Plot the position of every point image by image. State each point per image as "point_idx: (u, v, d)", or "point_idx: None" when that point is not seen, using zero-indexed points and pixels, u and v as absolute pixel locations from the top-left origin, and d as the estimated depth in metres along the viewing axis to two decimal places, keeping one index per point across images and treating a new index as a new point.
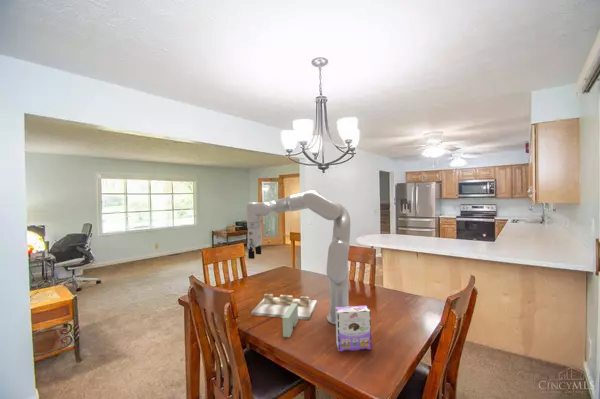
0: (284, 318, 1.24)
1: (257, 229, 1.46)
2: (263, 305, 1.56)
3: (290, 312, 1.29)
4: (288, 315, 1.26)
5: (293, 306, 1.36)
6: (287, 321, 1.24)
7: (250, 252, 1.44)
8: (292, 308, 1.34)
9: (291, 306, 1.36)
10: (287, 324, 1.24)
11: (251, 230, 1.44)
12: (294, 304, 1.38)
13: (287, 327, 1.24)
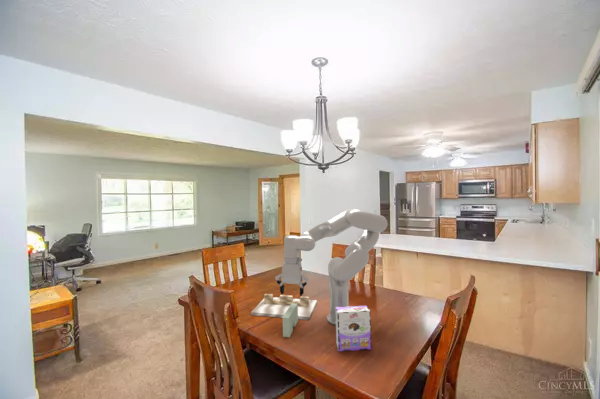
0: (284, 318, 1.24)
1: None
2: (263, 305, 1.56)
3: (290, 312, 1.29)
4: (288, 315, 1.26)
5: (293, 306, 1.36)
6: (287, 321, 1.24)
7: (303, 288, 1.36)
8: (292, 308, 1.34)
9: (291, 306, 1.36)
10: (287, 324, 1.24)
11: (300, 265, 1.36)
12: (294, 304, 1.38)
13: (287, 327, 1.24)
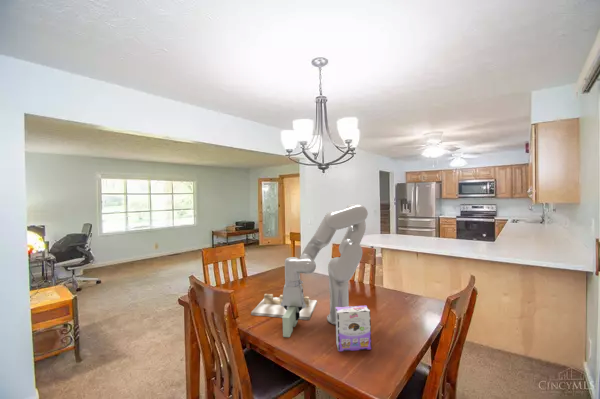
0: (284, 318, 1.24)
1: None
2: (263, 305, 1.56)
3: (290, 312, 1.29)
4: (288, 315, 1.26)
5: (293, 306, 1.36)
6: (287, 321, 1.24)
7: None
8: (292, 308, 1.34)
9: (291, 306, 1.36)
10: (287, 324, 1.24)
11: (301, 287, 1.36)
12: None
13: (287, 327, 1.24)
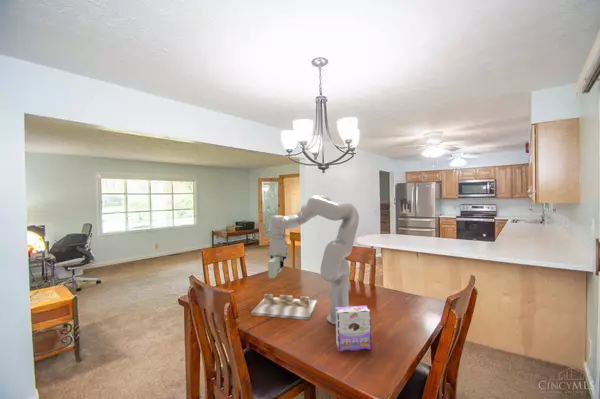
0: (269, 262, 1.49)
1: None
2: (263, 305, 1.56)
3: (275, 259, 1.54)
4: (273, 260, 1.50)
5: (278, 256, 1.60)
6: (272, 264, 1.48)
7: (283, 261, 1.61)
8: (277, 257, 1.58)
9: (276, 256, 1.60)
10: (272, 267, 1.48)
11: (285, 240, 1.61)
12: None
13: (272, 269, 1.48)
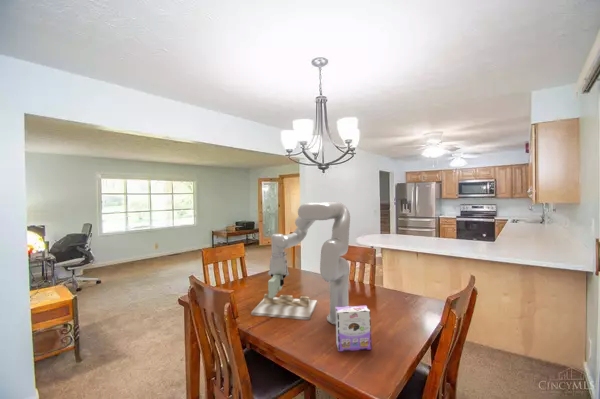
0: (269, 282, 1.50)
1: None
2: (263, 305, 1.56)
3: (275, 278, 1.55)
4: (273, 280, 1.52)
5: (278, 274, 1.62)
6: (272, 284, 1.50)
7: (283, 280, 1.62)
8: (277, 275, 1.59)
9: (276, 274, 1.62)
10: (272, 287, 1.50)
11: (285, 258, 1.62)
12: None
13: (272, 289, 1.50)
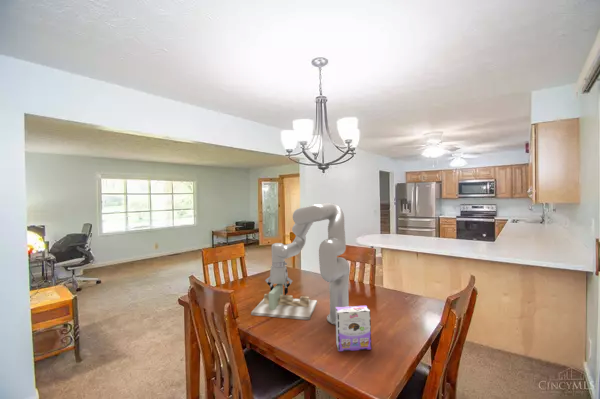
0: (270, 294, 1.50)
1: None
2: (263, 305, 1.56)
3: (275, 289, 1.55)
4: (273, 291, 1.52)
5: (279, 285, 1.62)
6: (272, 296, 1.50)
7: (287, 288, 1.62)
8: (277, 287, 1.60)
9: (277, 285, 1.62)
10: (272, 299, 1.50)
11: (286, 268, 1.62)
12: (280, 284, 1.64)
13: (272, 301, 1.50)
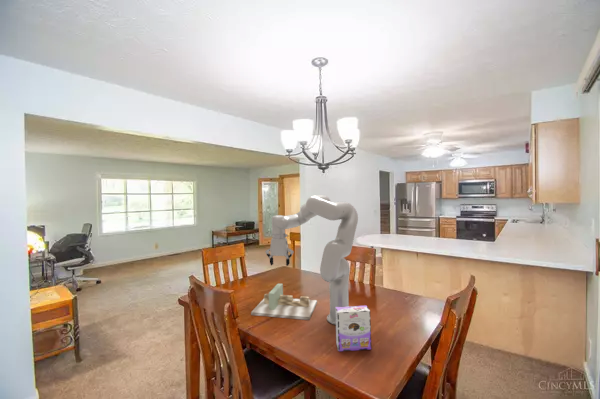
0: (270, 294, 1.50)
1: None
2: (263, 305, 1.56)
3: (275, 289, 1.55)
4: (273, 291, 1.52)
5: (279, 285, 1.62)
6: (272, 296, 1.50)
7: None
8: (277, 287, 1.60)
9: (277, 285, 1.62)
10: (272, 299, 1.50)
11: (286, 240, 1.62)
12: (280, 284, 1.64)
13: (272, 301, 1.50)
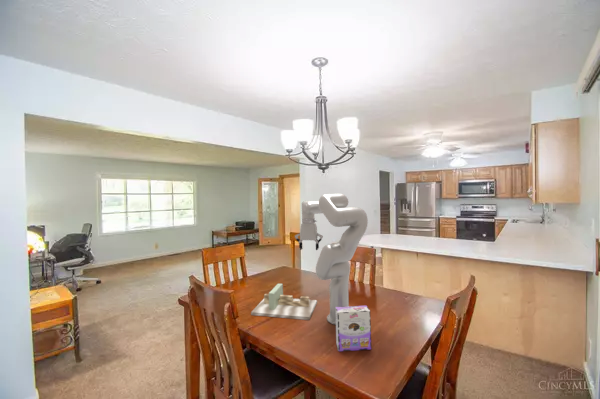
0: (270, 294, 1.50)
1: None
2: (263, 305, 1.56)
3: (275, 289, 1.55)
4: (273, 291, 1.52)
5: (279, 285, 1.62)
6: (272, 296, 1.50)
7: (318, 244, 1.65)
8: (277, 287, 1.60)
9: (277, 285, 1.62)
10: (272, 299, 1.50)
11: None
12: (280, 284, 1.64)
13: (272, 301, 1.50)
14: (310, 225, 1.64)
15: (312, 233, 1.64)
